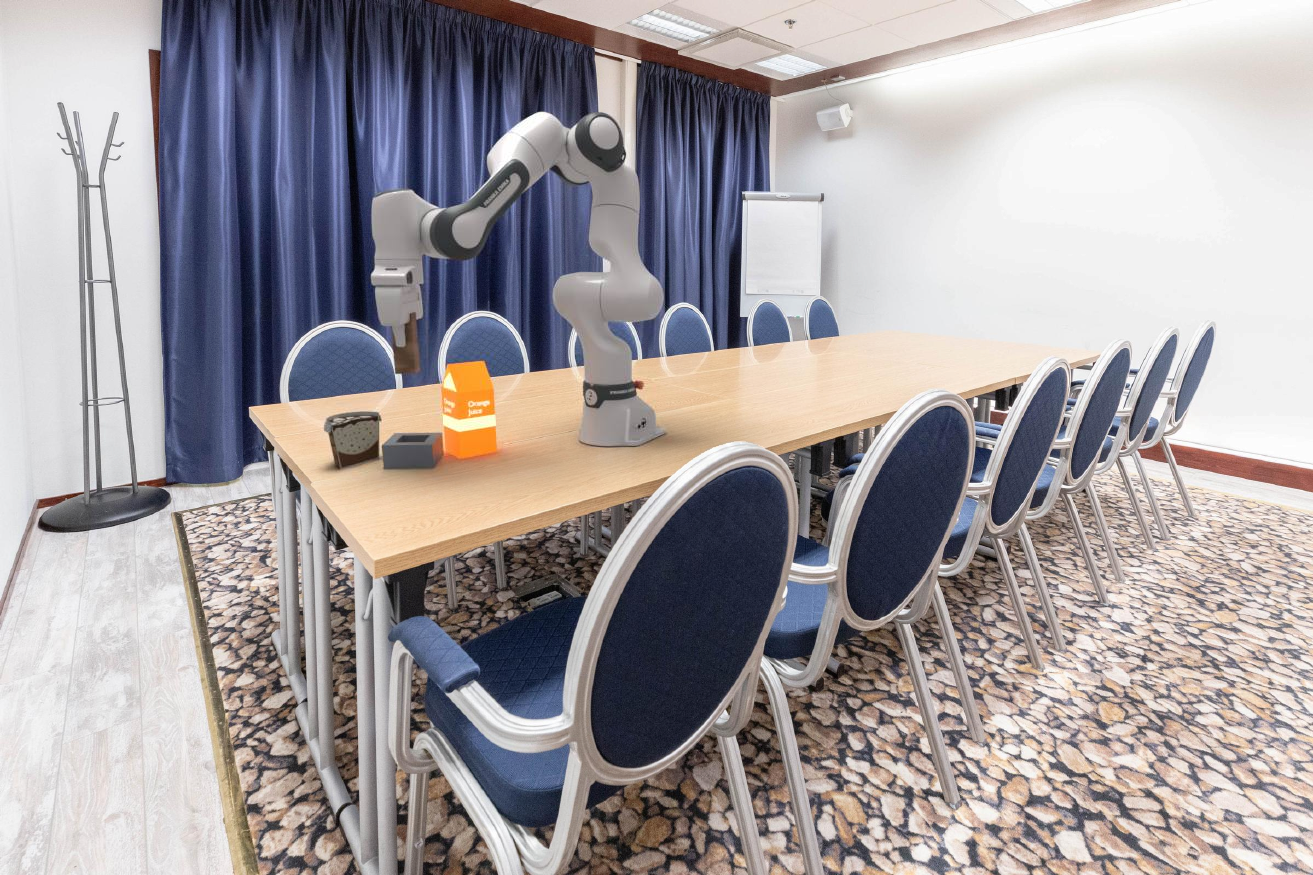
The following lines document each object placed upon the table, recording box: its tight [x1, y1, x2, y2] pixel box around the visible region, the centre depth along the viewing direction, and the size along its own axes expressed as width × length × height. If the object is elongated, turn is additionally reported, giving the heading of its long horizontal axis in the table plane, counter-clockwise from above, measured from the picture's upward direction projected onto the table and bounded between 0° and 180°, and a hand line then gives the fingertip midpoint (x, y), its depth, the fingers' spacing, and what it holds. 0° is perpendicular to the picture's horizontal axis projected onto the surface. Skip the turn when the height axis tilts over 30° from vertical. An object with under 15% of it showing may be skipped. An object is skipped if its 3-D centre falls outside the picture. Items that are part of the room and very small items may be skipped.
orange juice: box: [440, 360, 498, 459], centre depth 152 cm, size 8×9×20 cm
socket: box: [381, 432, 445, 470], centre depth 146 cm, size 10×10×5 cm
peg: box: [390, 312, 421, 375], centre depth 140 cm, size 4×4×12 cm
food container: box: [323, 410, 383, 470], centre depth 145 cm, size 12×6×10 cm, turn 149°
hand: (405, 344), depth 140 cm, fingers closed on peg, 4 cm apart
